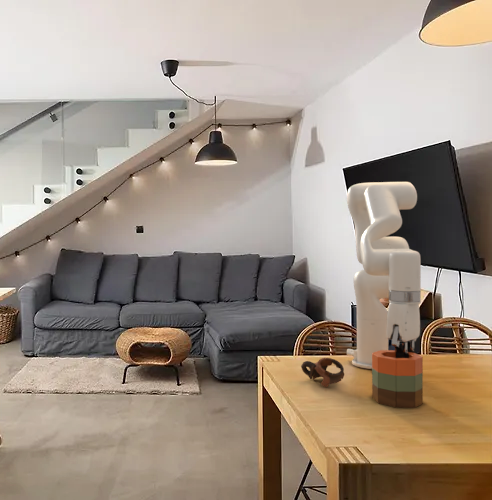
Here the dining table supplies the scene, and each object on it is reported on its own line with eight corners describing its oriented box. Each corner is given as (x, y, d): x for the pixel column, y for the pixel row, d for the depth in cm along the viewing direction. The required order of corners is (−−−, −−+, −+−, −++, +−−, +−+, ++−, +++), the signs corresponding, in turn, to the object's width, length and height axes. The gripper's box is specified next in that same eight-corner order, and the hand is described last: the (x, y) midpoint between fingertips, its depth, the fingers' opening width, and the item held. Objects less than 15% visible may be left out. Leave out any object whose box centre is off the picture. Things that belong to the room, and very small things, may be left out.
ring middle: (366, 385, 139) (365, 370, 139) (385, 377, 146) (385, 362, 146) (409, 394, 131) (409, 378, 131) (428, 385, 138) (428, 370, 138)
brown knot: (340, 380, 160) (347, 360, 155) (337, 402, 152) (345, 381, 148) (299, 367, 163) (306, 347, 159) (295, 388, 156) (301, 368, 151)
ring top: (365, 370, 139) (365, 354, 139) (385, 362, 146) (385, 348, 146) (409, 378, 131) (409, 362, 130) (428, 370, 138) (428, 355, 137)
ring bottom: (366, 400, 139) (366, 385, 139) (385, 391, 146) (385, 377, 146) (409, 410, 131) (409, 394, 131) (428, 401, 138) (428, 385, 138)
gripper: (403, 293, 149) (403, 359, 149) (376, 298, 138) (376, 369, 139) (432, 295, 143) (432, 363, 143) (405, 301, 133) (405, 374, 133)
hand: (404, 365), depth 141 cm, fingers closed on ring top, 2 cm apart
